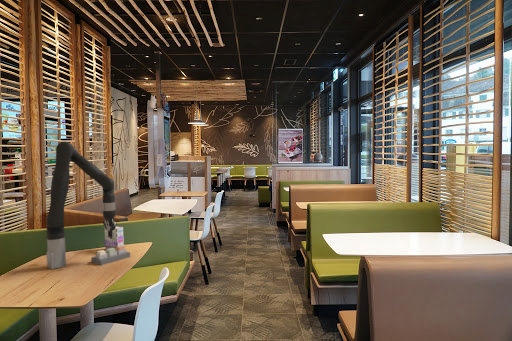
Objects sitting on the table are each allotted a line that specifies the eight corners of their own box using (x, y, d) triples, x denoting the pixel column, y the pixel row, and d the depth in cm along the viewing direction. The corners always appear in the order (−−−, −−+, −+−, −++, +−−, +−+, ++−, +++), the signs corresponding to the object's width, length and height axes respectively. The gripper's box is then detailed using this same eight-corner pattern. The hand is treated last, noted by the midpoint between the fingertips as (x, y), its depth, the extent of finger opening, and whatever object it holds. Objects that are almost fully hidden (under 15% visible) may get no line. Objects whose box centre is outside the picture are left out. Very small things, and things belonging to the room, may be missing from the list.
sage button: (109, 253, 221) (109, 249, 221) (106, 252, 224) (106, 249, 223) (115, 252, 224) (115, 248, 224) (112, 251, 226) (111, 247, 226)
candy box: (124, 250, 246) (123, 226, 245) (117, 252, 241) (116, 228, 240) (112, 247, 253) (111, 225, 252) (104, 249, 248) (103, 226, 247)
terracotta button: (119, 251, 227) (119, 247, 227) (116, 250, 229) (116, 246, 229) (124, 249, 230) (124, 246, 229) (121, 249, 232) (121, 245, 232)
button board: (101, 265, 213) (100, 257, 213) (91, 262, 219) (91, 254, 219) (130, 256, 229) (130, 249, 229) (120, 254, 236) (120, 246, 235)
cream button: (100, 256, 216) (99, 252, 216) (97, 255, 218) (96, 251, 218) (105, 254, 219) (105, 250, 219) (102, 253, 221) (102, 250, 221)
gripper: (97, 209, 224) (99, 236, 224) (109, 211, 216) (110, 239, 217) (108, 207, 230) (110, 234, 230) (120, 209, 222) (121, 236, 223)
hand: (110, 236), depth 223 cm, fingers closed
